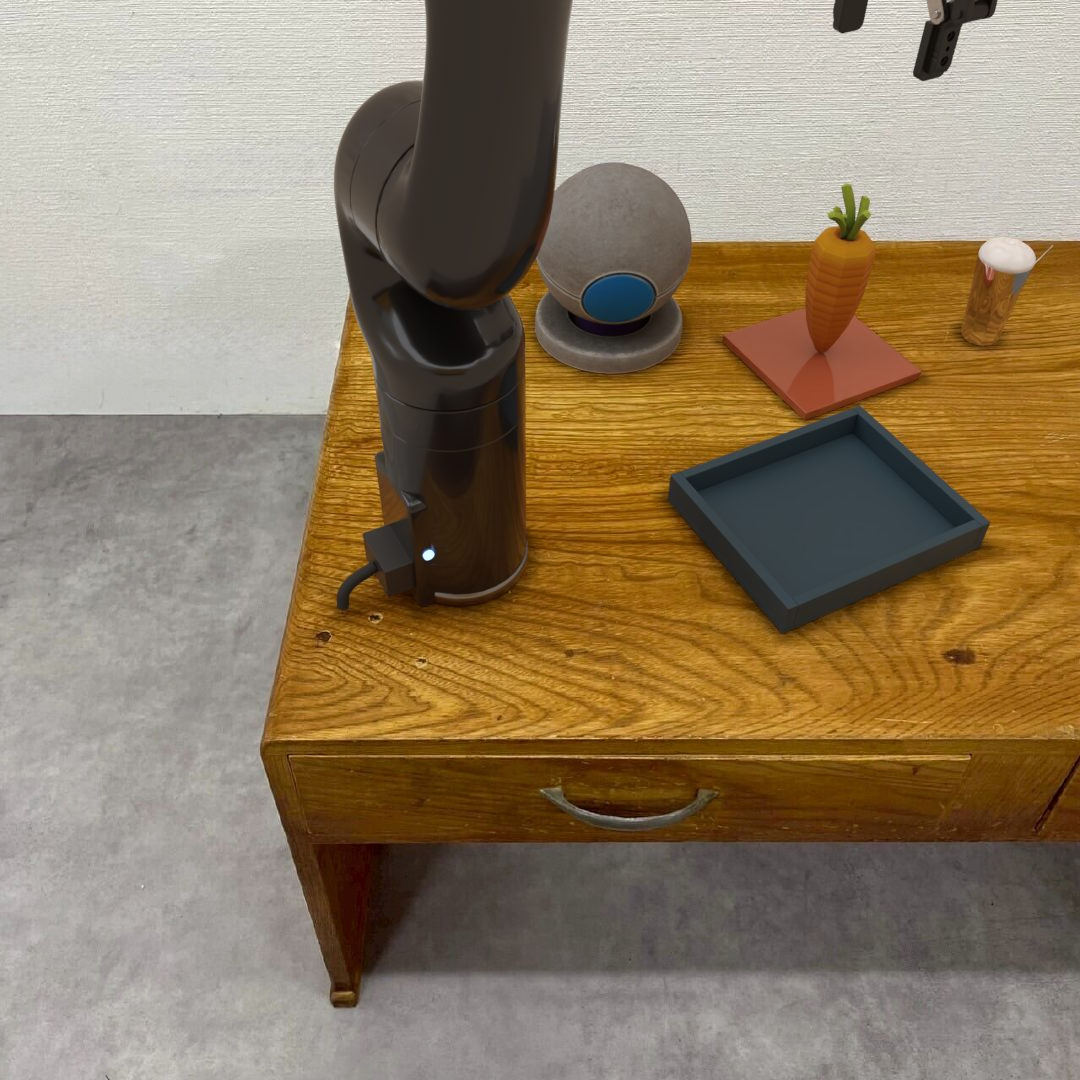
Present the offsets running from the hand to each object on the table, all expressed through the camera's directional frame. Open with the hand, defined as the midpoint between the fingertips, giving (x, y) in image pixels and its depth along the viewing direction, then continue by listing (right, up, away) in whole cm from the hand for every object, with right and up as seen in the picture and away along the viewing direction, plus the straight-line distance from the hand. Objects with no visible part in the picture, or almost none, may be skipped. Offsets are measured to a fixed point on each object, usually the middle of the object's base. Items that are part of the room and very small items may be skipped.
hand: (886, 53), depth 77 cm
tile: (0, -18, +19) cm, 26 cm away
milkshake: (+15, -16, +22) cm, 31 cm away
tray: (-3, -32, +6) cm, 33 cm away
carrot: (0, -18, +19) cm, 26 cm away
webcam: (-18, -15, +22) cm, 32 cm away
